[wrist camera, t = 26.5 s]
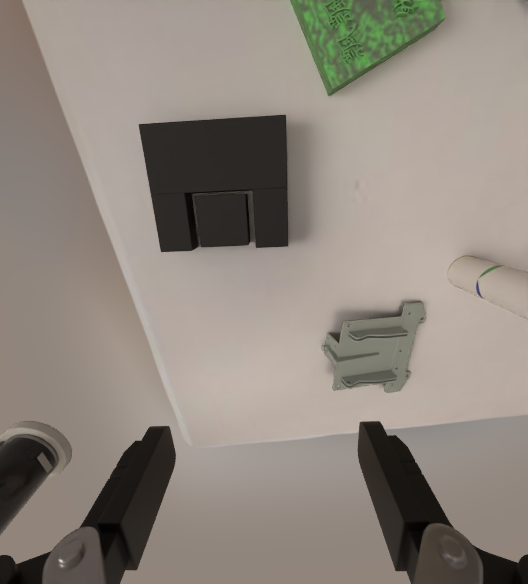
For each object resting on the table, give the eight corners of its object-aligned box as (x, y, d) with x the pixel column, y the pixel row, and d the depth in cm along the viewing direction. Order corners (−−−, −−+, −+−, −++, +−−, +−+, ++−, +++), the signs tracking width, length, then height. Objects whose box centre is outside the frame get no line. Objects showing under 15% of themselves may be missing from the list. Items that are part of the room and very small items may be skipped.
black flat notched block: (169, 248, 36) (160, 252, 33) (150, 131, 32) (138, 124, 29) (286, 242, 35) (288, 246, 33) (284, 122, 31) (285, 114, 28)
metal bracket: (331, 412, 37) (347, 313, 32) (314, 385, 42) (324, 297, 37) (415, 396, 41) (440, 306, 36) (389, 373, 46) (408, 292, 41)
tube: (486, 260, 36) (629, 299, 21) (470, 289, 37) (595, 344, 23) (456, 252, 35) (580, 287, 21) (442, 282, 37) (549, 334, 22)
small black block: (206, 243, 36) (200, 247, 33) (200, 196, 34) (194, 196, 31) (250, 241, 36) (248, 245, 33) (247, 194, 34) (245, 193, 31)
